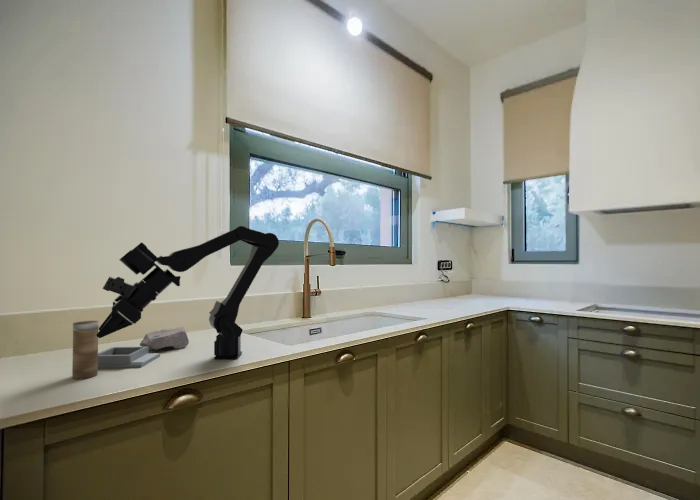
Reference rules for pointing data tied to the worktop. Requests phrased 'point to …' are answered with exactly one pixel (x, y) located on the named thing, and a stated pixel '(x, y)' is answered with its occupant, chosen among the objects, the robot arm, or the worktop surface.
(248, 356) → the worktop surface
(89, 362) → the round tan cylinder
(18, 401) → the worktop surface
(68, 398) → the worktop surface
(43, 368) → the worktop surface
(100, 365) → the cradle
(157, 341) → the stone
